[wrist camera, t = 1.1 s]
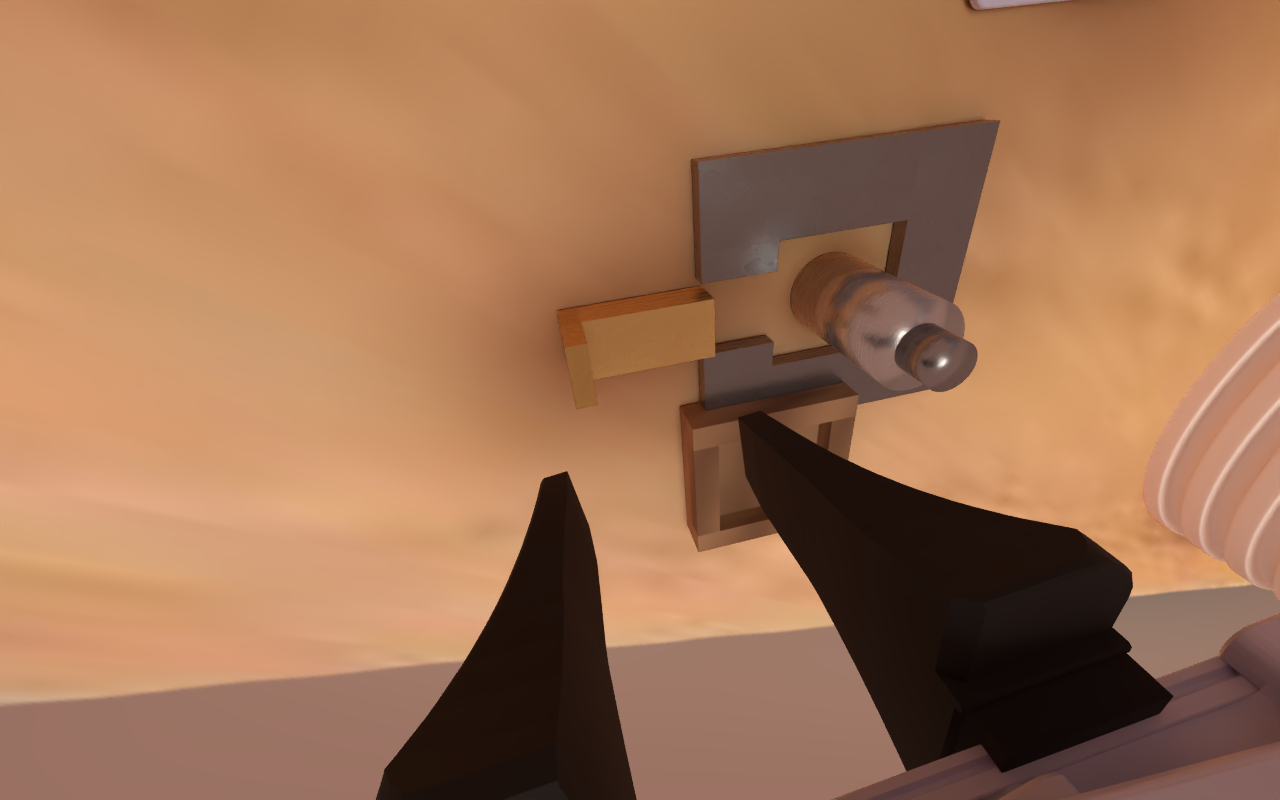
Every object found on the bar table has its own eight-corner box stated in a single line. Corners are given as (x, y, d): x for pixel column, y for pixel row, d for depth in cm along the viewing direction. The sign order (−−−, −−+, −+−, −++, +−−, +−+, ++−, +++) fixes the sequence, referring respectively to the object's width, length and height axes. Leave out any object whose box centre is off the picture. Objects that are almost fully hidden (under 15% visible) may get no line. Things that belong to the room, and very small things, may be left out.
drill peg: (866, 246, 21) (1014, 307, 15) (855, 319, 23) (983, 401, 17) (793, 258, 21) (913, 327, 14) (787, 332, 22) (892, 421, 16)
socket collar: (983, 119, 19) (1000, 120, 19) (919, 381, 26) (930, 389, 25) (691, 159, 18) (698, 162, 17) (701, 427, 24) (706, 436, 24)
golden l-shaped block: (701, 286, 20) (732, 317, 17) (702, 340, 22) (732, 378, 19) (556, 310, 20) (564, 347, 17) (567, 366, 21) (576, 409, 18)
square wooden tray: (835, 374, 24) (859, 395, 23) (819, 493, 29) (838, 517, 27) (680, 406, 23) (692, 429, 22) (687, 524, 28) (698, 552, 26)
